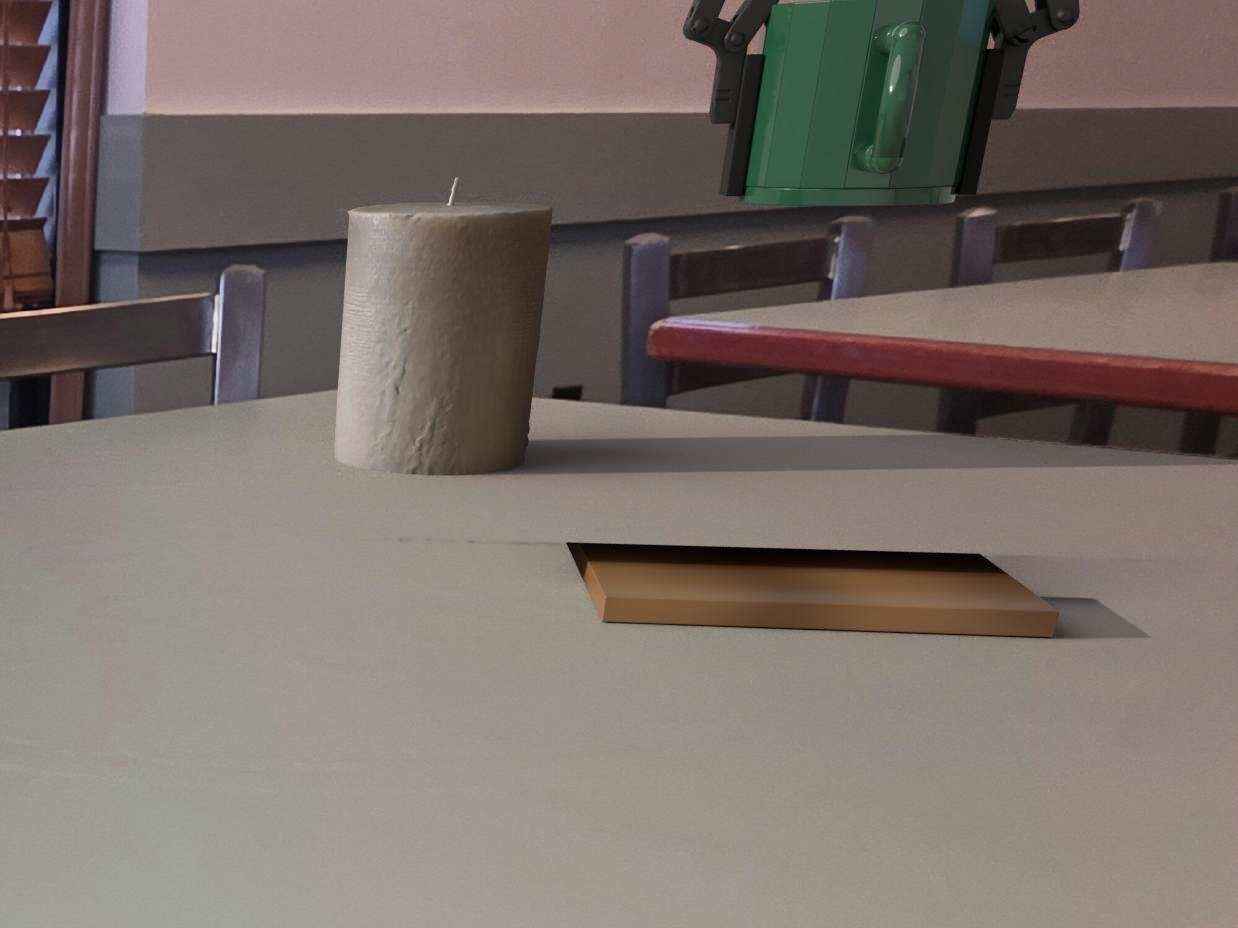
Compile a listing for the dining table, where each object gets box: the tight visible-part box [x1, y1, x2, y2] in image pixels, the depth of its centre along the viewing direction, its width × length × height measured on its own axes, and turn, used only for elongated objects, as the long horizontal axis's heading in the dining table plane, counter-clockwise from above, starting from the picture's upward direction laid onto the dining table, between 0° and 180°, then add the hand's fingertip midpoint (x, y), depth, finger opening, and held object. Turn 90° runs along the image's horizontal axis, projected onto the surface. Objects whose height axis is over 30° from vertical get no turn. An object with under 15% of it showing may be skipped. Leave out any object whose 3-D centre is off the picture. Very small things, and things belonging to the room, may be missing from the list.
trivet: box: [565, 541, 1060, 638], centre depth 72 cm, size 16×16×1 cm
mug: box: [735, 0, 996, 207], centre depth 85 cm, size 14×10×9 cm
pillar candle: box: [333, 177, 553, 476], centre depth 86 cm, size 10×10×15 cm
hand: (843, 194), depth 89 cm, fingers closed on mug, 10 cm apart
